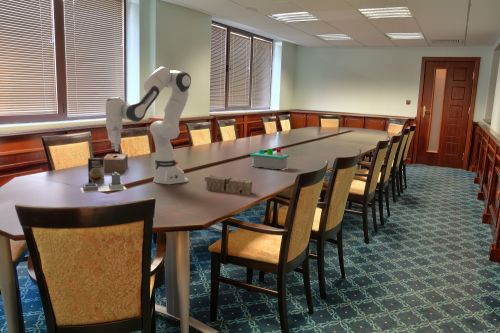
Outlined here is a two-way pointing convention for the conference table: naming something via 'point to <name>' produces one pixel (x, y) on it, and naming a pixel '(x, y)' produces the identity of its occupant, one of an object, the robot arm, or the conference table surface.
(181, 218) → the conference table surface
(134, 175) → the conference table surface
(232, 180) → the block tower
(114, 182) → the plug
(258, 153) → the control panel
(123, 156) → the tissue box cover
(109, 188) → the panel
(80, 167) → the conference table surface
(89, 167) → the coffee box
